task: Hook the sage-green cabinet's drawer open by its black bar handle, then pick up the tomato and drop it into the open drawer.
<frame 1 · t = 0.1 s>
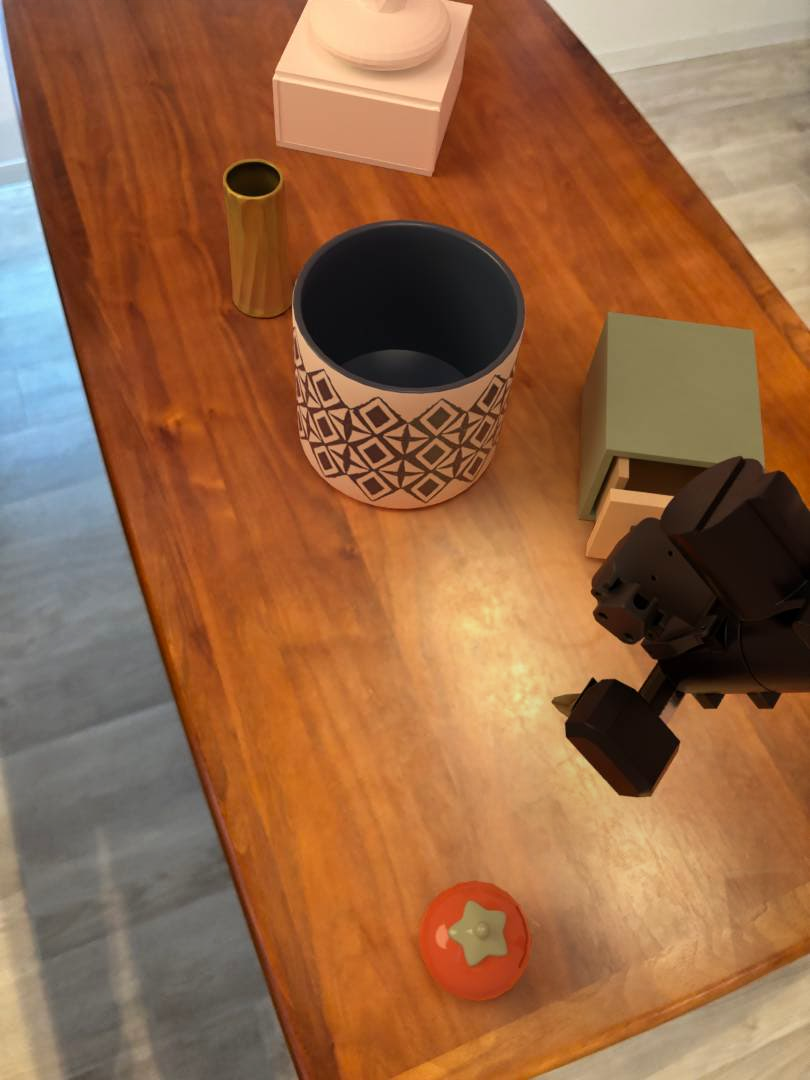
hand: (591, 653, 68), 12 cm above the table, tool tilted 30°, fingers open, 9 cm apart
cabinet: (648, 460, 92), on the table
pink lidded box: (373, 112, 114), on the table
vase: (263, 297, 99), on the table
planter: (398, 430, 92), on the table
drawer: (666, 494, 83), point 5 cm above the table, slide at 3.0 cm
tomato: (468, 948, 70), on the table
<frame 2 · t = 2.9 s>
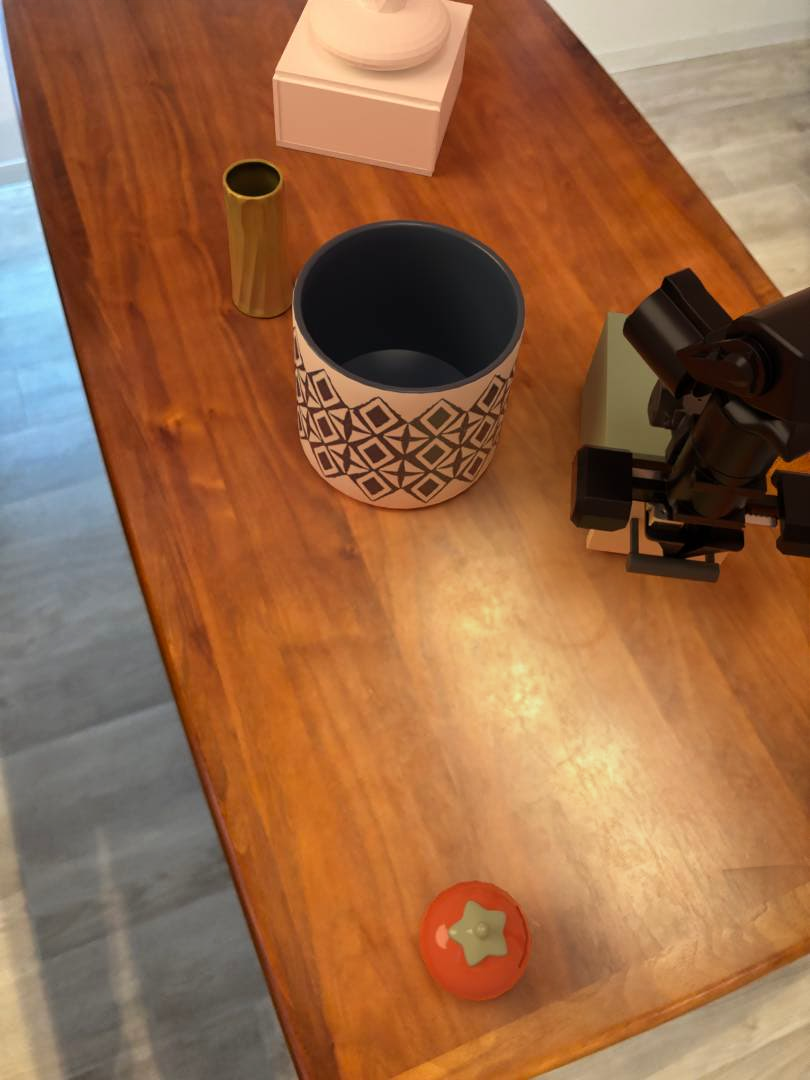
hand: (667, 555, 81), 5 cm above the table, tool pointing down, fingers closed, pressing on drawer
drawer: (666, 486, 84), point 5 cm above the table, slide at 2.3 cm, touching gripper
everything else where it was.
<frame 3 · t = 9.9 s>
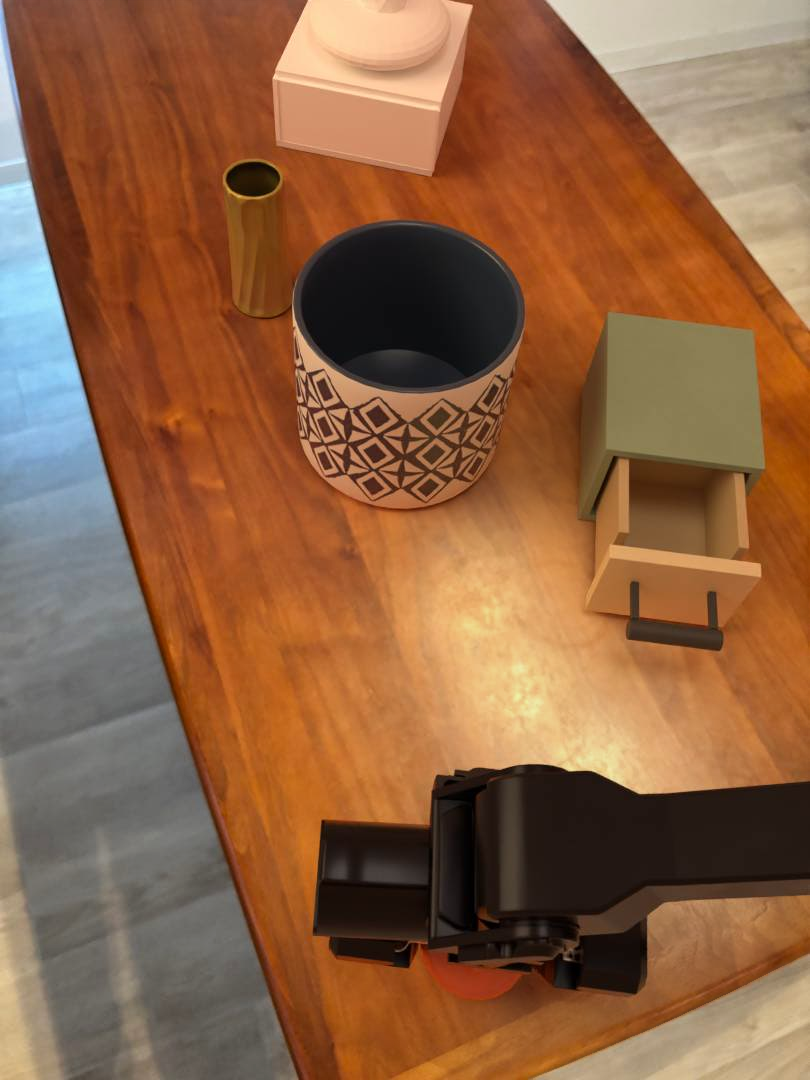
hand: (472, 943, 68), 2 cm above the table, tool pointing down, fingers closed on tomato, 7 cm apart
drawer: (667, 546, 81), point 5 cm above the table, slide at 8.1 cm
tomato: (468, 948, 70), on the table, touching gripper
everything else where it was.
when the fingers open (11 cm above the table, at t = 15.7 s): tomato drops 6 cm, resting on drawer.
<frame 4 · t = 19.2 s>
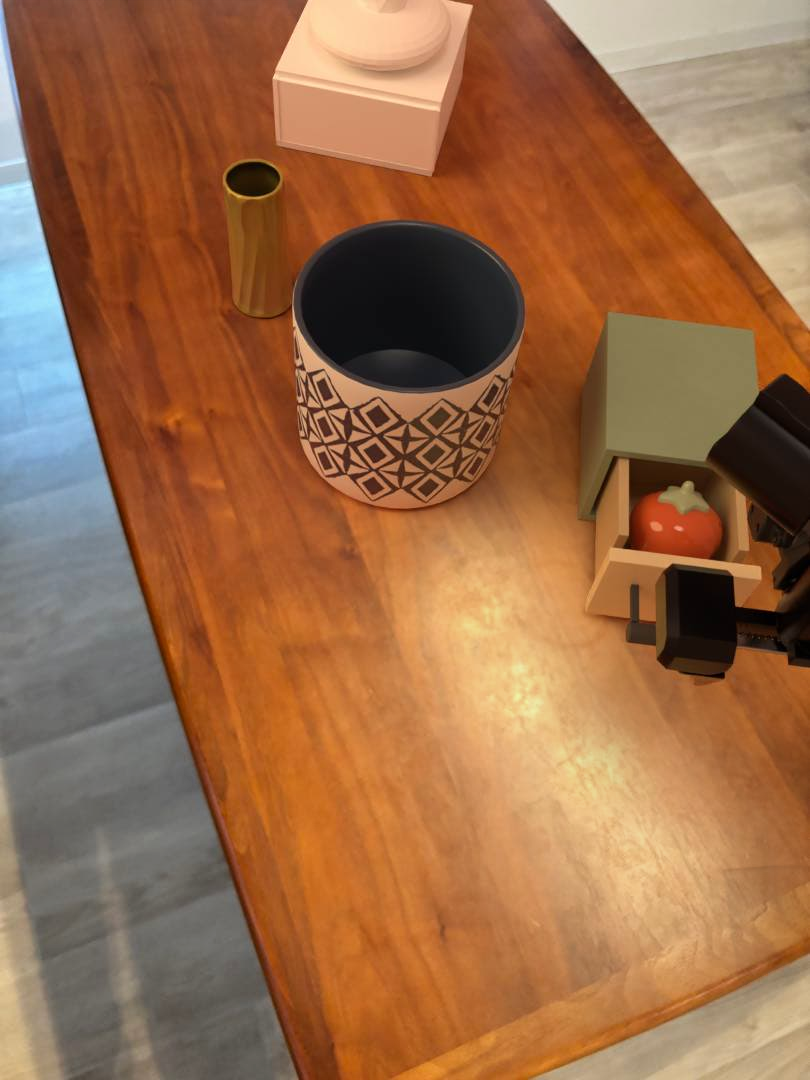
hand: (765, 687, 67), 13 cm above the table, tool pointing down, fingers open, 9 cm apart
drawer: (668, 549, 81), point 5 cm above the table, slide at 8.3 cm, touching tomato
tomato: (661, 570, 82), point 3 cm above the table, touching drawer
everything else where it was.
at the end: drawer slide at 8.3 cm; tomato inside the target area in the drawer (1.2 cm from its centre), point 3.1 cm above the cabinet's base; the gripper is holding nothing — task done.
